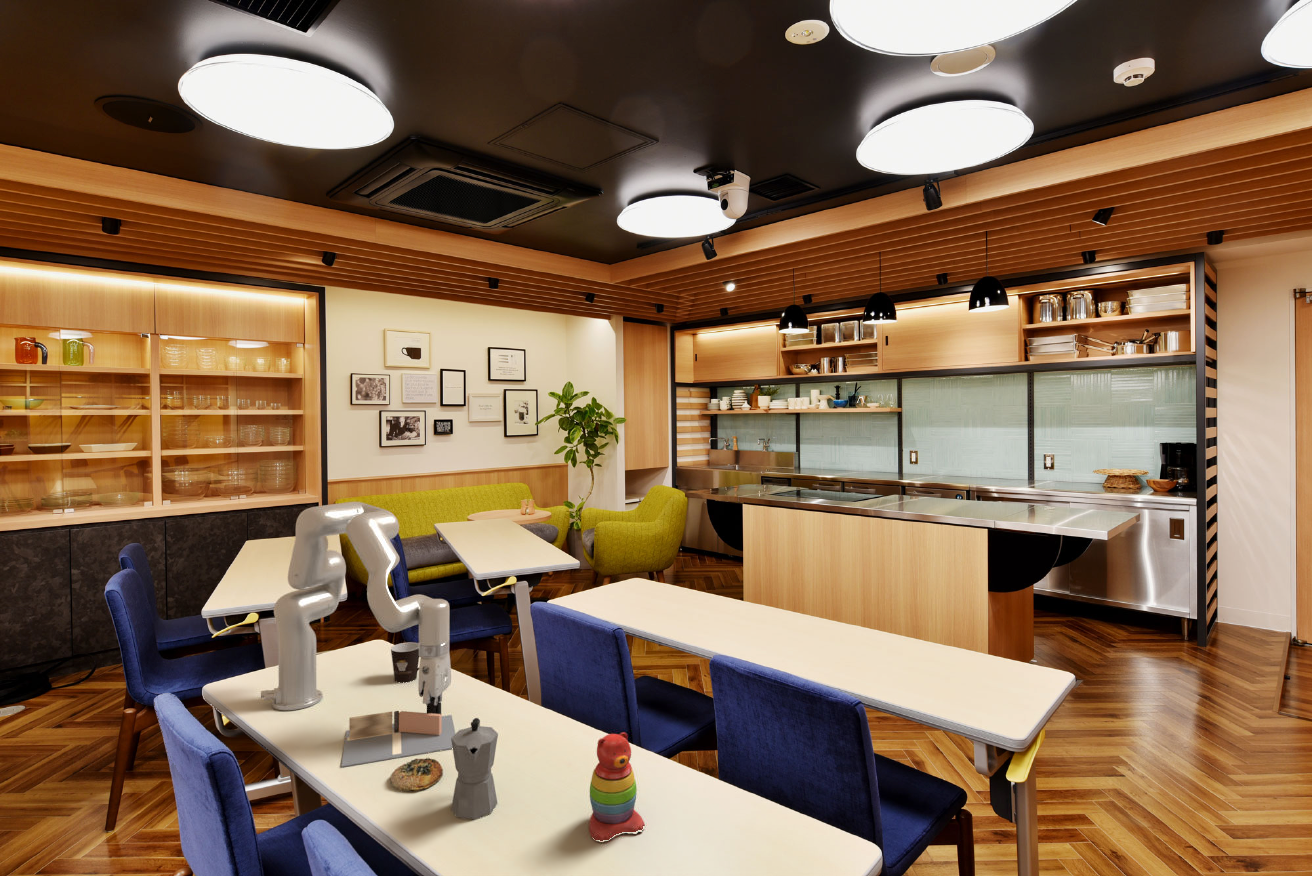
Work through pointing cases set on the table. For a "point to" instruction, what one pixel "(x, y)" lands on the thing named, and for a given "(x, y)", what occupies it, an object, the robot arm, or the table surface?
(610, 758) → the stacking bear
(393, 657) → the coffee mug
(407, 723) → the folding fence panel
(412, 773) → the bread roll
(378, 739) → the card
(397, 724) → the fixed fence section
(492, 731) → the coffeepot
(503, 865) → the table surface
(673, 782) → the table surface
